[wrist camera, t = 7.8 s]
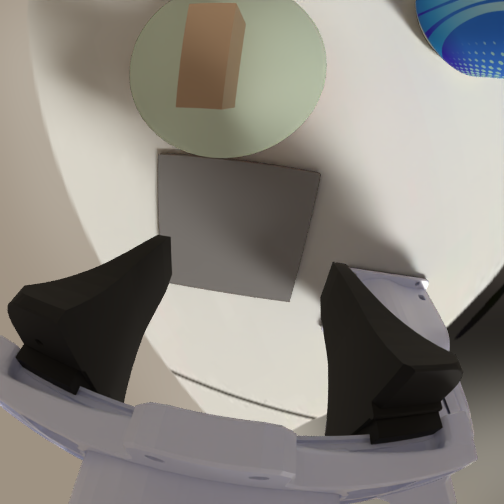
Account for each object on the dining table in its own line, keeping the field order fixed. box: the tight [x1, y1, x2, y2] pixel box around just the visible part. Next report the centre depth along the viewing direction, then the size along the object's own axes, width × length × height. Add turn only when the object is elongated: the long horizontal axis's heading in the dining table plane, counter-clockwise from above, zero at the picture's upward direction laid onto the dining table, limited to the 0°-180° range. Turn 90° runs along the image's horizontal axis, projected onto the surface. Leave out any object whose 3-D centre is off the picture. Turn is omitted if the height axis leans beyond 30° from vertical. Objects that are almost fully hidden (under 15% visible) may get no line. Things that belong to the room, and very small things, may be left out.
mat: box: [158, 153, 321, 302], centre depth 22 cm, size 12×12×1 cm
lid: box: [129, 0, 327, 158], centre depth 11 cm, size 11×11×4 cm
